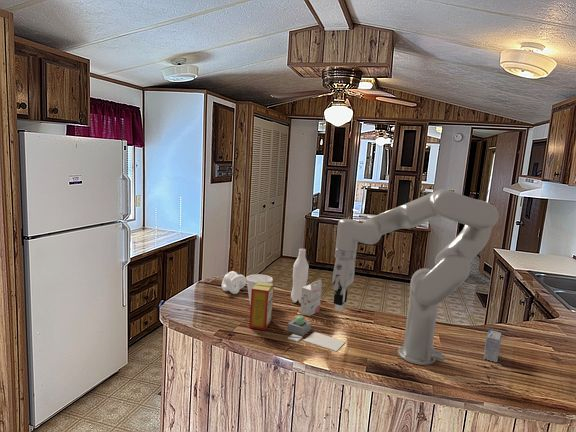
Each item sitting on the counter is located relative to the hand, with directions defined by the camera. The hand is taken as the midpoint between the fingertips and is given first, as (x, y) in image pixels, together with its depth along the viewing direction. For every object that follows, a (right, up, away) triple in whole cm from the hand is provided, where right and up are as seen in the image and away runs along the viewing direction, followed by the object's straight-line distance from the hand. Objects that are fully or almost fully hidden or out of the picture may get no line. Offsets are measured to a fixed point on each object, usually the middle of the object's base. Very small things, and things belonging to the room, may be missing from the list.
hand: (340, 302), depth 144 cm
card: (-16, -14, +3) cm, 22 cm away
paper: (-5, -15, +2) cm, 16 cm away
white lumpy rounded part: (-46, -5, +49) cm, 67 cm away
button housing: (-15, -13, +10) cm, 22 cm away
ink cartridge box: (-9, -11, +30) cm, 33 cm away
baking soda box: (-30, -12, +14) cm, 35 cm away
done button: (-14, -12, +10) cm, 21 cm away
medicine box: (+55, -20, 0) cm, 58 cm away
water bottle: (-14, -9, +41) cm, 45 cm away
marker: (0, -3, 0) cm, 3 cm away
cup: (-32, -9, +33) cm, 47 cm away
